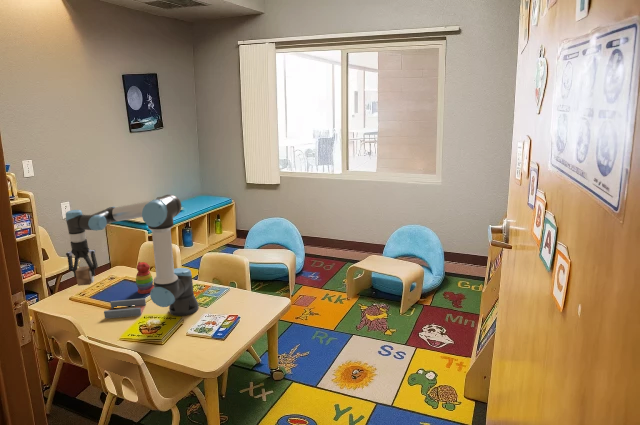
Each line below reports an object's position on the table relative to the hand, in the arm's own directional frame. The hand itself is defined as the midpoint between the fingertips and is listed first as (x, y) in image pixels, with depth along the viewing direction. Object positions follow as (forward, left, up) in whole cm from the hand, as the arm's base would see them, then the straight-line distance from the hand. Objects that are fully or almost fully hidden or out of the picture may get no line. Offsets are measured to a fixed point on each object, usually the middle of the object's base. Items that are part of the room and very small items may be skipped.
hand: (86, 282), depth 241 cm
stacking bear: (-22, -26, -19) cm, 39 cm away
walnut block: (0, 0, 0) cm, 0 cm away
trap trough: (-17, 0, -19) cm, 26 cm away
